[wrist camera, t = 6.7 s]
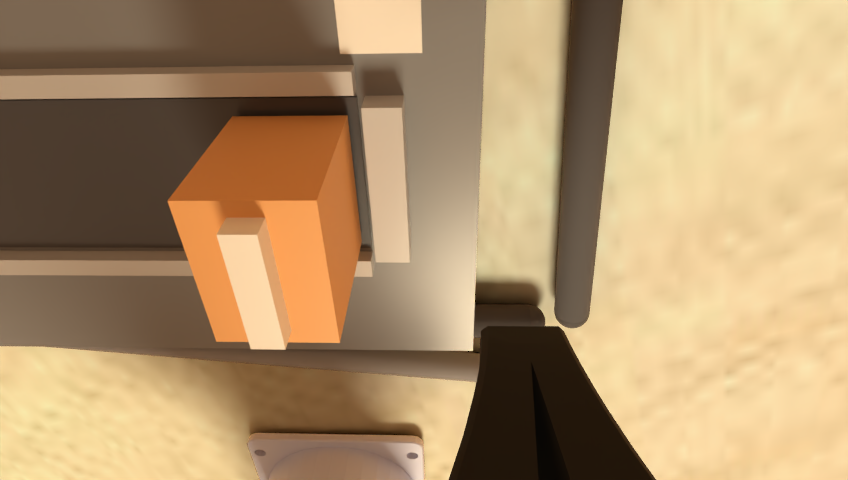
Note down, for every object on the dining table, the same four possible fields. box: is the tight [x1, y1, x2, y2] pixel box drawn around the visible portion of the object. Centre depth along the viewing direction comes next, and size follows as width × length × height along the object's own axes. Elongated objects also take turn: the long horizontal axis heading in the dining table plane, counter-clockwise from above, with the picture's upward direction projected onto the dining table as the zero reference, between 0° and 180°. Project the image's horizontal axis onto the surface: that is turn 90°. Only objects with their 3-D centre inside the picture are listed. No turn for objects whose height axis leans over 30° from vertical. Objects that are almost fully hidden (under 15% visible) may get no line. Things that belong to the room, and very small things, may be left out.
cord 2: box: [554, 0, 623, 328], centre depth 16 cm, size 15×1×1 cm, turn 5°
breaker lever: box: [168, 115, 362, 350], centre depth 14 cm, size 4×3×5 cm
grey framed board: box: [0, 0, 486, 351], centre depth 16 cm, size 14×20×2 cm
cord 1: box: [44, 346, 480, 382], centre depth 22 cm, size 19×1×1 cm, turn 85°
